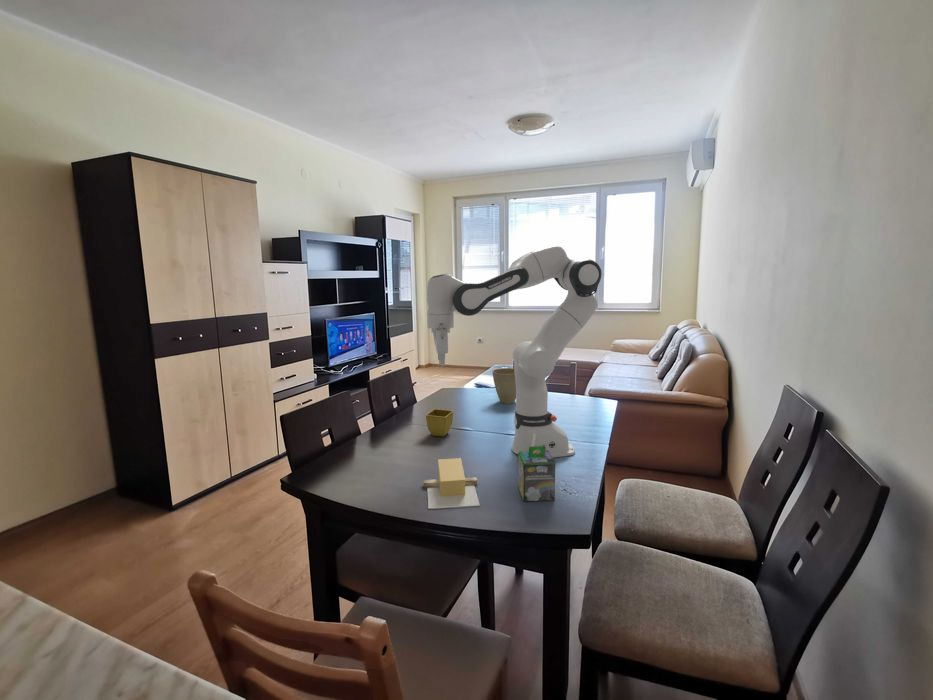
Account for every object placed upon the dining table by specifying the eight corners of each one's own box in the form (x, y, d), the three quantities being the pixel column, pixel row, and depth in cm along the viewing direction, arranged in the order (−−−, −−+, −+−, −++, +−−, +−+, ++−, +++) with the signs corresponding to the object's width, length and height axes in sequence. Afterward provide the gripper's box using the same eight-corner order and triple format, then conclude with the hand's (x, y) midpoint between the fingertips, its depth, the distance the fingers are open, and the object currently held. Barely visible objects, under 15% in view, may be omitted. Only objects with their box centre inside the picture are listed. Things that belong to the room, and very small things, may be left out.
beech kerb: (476, 481, 136) (476, 477, 136) (477, 484, 134) (477, 480, 134) (423, 484, 134) (423, 480, 134) (424, 487, 132) (423, 483, 132)
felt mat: (474, 486, 133) (474, 485, 133) (479, 506, 121) (479, 505, 121) (427, 488, 132) (427, 487, 132) (428, 509, 120) (428, 508, 120)
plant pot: (507, 396, 236) (507, 366, 233) (527, 402, 224) (528, 371, 222) (486, 401, 226) (486, 370, 224) (506, 407, 215) (506, 375, 213)
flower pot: (446, 439, 173) (445, 416, 172) (425, 436, 176) (425, 414, 174) (454, 431, 181) (453, 410, 180) (434, 429, 184) (433, 408, 183)
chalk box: (548, 486, 133) (549, 438, 130) (555, 501, 124) (556, 450, 121) (517, 487, 132) (517, 439, 130) (522, 502, 123) (523, 451, 121)
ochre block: (460, 458, 136) (465, 479, 126) (460, 472, 138) (465, 494, 127) (437, 459, 135) (440, 481, 125) (438, 473, 137) (440, 496, 126)
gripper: (452, 325, 141) (452, 368, 143) (448, 319, 161) (448, 357, 163) (432, 325, 140) (433, 368, 142) (430, 320, 160) (431, 357, 162)
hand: (441, 362), depth 153 cm, fingers open, 8 cm apart
